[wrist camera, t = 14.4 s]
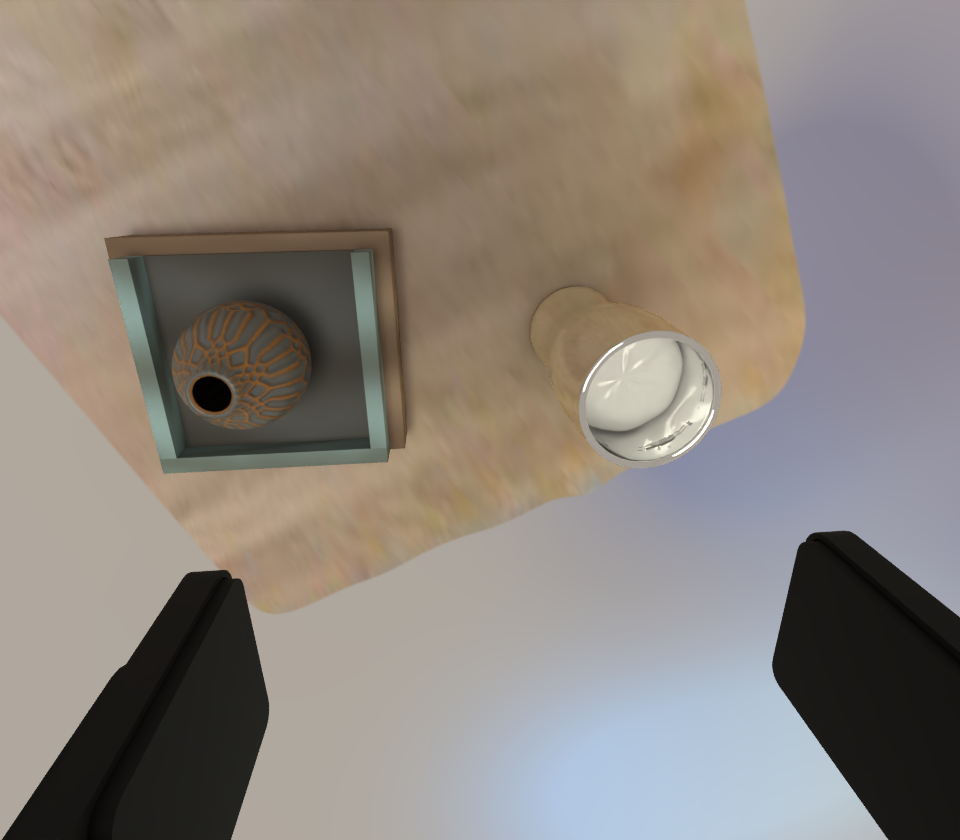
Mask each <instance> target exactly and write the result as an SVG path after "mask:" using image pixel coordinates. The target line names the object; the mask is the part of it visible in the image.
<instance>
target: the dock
mask: <svg viewBox="0 0 960 840" xmlns="http://www.w3.org/2000/svg"><path fill="white" fill-rule="evenodd" d="M104 239H105V243H106V247H107V251H108V255H109V260H108V261H109V265H110V268H111V272H112V276H113V280H114V284H115V288H116V292H117V296H118V299H119V303H120V307H121V311H122V315H123V319H124V323H125V326H126V330H127V334H128V338H129V342H130V346H131V350H132V353H133V357H134V361H135V365H136V369H137V373H138V377H139V380H140V384H141V388H142V392H143V396H144V400H145V404H146V407H147V411H148V415H149V419H150V423H151V427H152V431H153V434H154V438H155V442H156V446H157V450H158V454H159V458H160V461H161V465H162V469H163V473H164V474H166V473H185V472H204V471H223V470H242V469H262V468H281V467H300V466H319V465H338V464H357V463H377V462H388V458H389V453H390V449H400V448H405V444H406V435H407V426H406V412H405V399H404V386H403V372H402V359H401V346H400V333H399V319H398V306H397V293H396V280H395V266H394V253H393V240H392V229H354V230H315V231H276V232H237V233H198V234H159V235H128V236H120V237H111V238H104ZM232 301H254V302H259V303H263V304H266V305H269V306H272V307H274V308H276V309H278V310H280V311H281V312H283V313H284V314H286V315H287V316H288V317H289V318H291V319H292V320H293V321H294V322H295V323H296V325H297V326H298V327H299V328H300V330H301V331H302V333H303V334H304V336H305V338H306V340H307V343H308V345H309V349H310V353H311V363H312V367H311V376H310V380H309V383H308V386H307V388H306V390H305V392H304V394H303V396H302V397H301V399H300V400H299V402H298V403H297V404H296V405H295V407H294V408H293V409H292V410H291V411H290V412H288V413H287V414H286V415H284V416H283V417H282V418H280V419H278V420H276V421H274V422H272V423H270V424H268V425H265V426H261V427H258V428H253V429H242V430H239V429H228V428H223V427H220V426H216V425H214V424H211V423H209V422H207V421H205V420H204V419H202V418H201V417H199V416H198V415H196V414H195V413H194V412H193V411H192V410H191V409H190V408H189V407H188V406H187V405H186V404H185V403H184V401H183V400H182V398H181V397H180V395H179V393H178V391H177V389H176V387H175V384H174V380H173V375H172V357H173V352H174V349H175V346H176V343H177V341H178V338H179V337H180V335H181V333H182V332H183V330H184V329H185V327H186V326H187V325H188V324H189V323H190V322H191V321H192V320H193V319H194V318H195V317H196V316H198V315H199V314H201V313H202V312H204V311H206V310H207V309H209V308H212V307H214V306H216V305H219V304H223V303H227V302H232Z"/></svg>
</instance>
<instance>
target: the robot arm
mask: <svg viewBox="0 0 960 840" xmlns="http://www.w3.org/2000/svg"><path fill="white" fill-rule="evenodd" d="M772 667H773V673H774V676H775V679H776V681H777V683H778V685H779V686H780V688H781V689H782V691H783V692H784V693H785V695H786V696H787V697H788V699H789V700H790V701H791V703H792V705H793V706H794V707H795V709H796V710H797V712H798V713H799V714H800V716H801V717H802V719H803V720H804V721H805V723H806V724H807V726H808V727H809V729H810V730H811V731H812V733H813V734H814V736H815V737H816V738H817V740H818V741H819V743H820V744H821V745H822V747H823V748H824V749H825V751H826V753H827V754H828V755H829V757H830V758H831V759H832V761H833V762H834V764H835V765H836V767H837V768H838V769H839V771H840V772H841V773H842V775H843V776H844V778H845V779H846V781H847V782H848V784H849V785H850V786H851V788H852V789H853V790H854V792H855V793H856V795H857V796H858V798H859V799H860V800H861V802H862V803H863V804H864V806H865V807H866V809H867V810H868V812H869V813H870V814H871V816H872V817H873V819H874V820H875V821H876V823H877V824H878V825H879V827H880V828H881V830H882V831H883V833H884V834H885V836H886V837H887V838H888V840H960V617H959V616H957V615H956V614H955V613H954V612H952V611H951V610H950V609H949V608H947V607H946V606H945V605H943V604H942V603H941V602H940V601H939V600H937V599H936V598H935V597H934V596H932V595H931V594H930V593H928V592H927V591H926V590H925V589H923V588H922V587H921V586H920V585H918V584H917V583H916V582H915V581H913V580H912V579H911V578H910V577H908V576H907V575H906V574H905V573H903V572H902V571H901V570H899V569H898V568H897V567H896V566H894V565H893V564H892V563H891V562H889V561H888V560H887V559H886V558H884V557H883V556H882V555H881V554H879V553H878V552H877V551H876V550H874V549H873V548H872V547H871V546H869V545H868V544H867V543H865V542H864V541H863V540H862V539H860V538H859V537H858V536H857V535H855V534H853V533H852V532H850V531H833V532H818V533H813V534H810V535H809V537H808V538H807V539H806V542H803V543H801V544H800V546H799V548H798V551H797V555H796V559H795V564H794V568H793V573H792V577H791V582H790V586H789V590H788V594H787V599H786V603H785V608H784V612H783V617H782V621H781V626H780V630H779V634H778V639H777V643H776V647H775V652H774V656H773V662H772ZM268 717H269V701H268V696H267V691H266V687H265V682H264V677H263V673H262V668H261V664H260V659H259V655H258V650H257V645H256V641H255V636H254V631H253V627H252V622H251V618H250V613H249V609H248V604H247V599H246V595H245V590H244V586H243V583H242V581H241V579H238V578H237V579H232V577H231V574H230V573H229V572H228V571H226V570H217V571H202V572H190V573H188V574H187V575H185V577H184V578H183V579H182V581H181V582H180V584H179V585H178V587H177V588H176V590H175V592H174V593H173V594H172V596H171V598H170V599H169V600H168V602H167V603H166V605H165V606H164V608H163V610H162V611H161V613H160V614H159V616H158V617H157V618H156V620H155V621H154V623H153V625H152V626H151V627H150V629H149V631H148V632H147V634H146V635H145V637H144V638H143V640H142V641H141V643H140V644H139V646H138V647H137V649H136V650H135V652H134V653H133V655H132V656H131V658H130V659H129V661H128V662H127V664H126V665H124V666H123V667H121V668H119V669H118V671H117V672H116V673H115V674H114V675H113V676H112V677H111V679H110V680H109V682H108V683H107V685H106V686H105V688H104V689H103V691H102V693H101V694H100V695H99V697H98V698H97V700H96V701H95V703H94V704H93V706H92V707H91V709H90V710H89V711H88V713H87V714H86V716H85V717H84V719H83V720H82V722H81V724H80V725H79V727H78V728H77V729H76V731H75V732H74V734H73V735H72V737H71V738H70V740H69V741H68V743H67V744H66V746H65V747H64V749H63V750H62V751H61V753H60V755H59V756H58V758H57V759H56V760H55V762H54V764H53V765H52V766H51V768H50V769H49V771H48V772H47V774H46V775H45V777H44V778H43V780H42V781H41V783H40V784H39V786H38V787H37V789H36V790H35V791H34V793H33V794H32V796H31V798H30V799H29V800H28V802H27V804H26V805H25V806H24V808H23V809H22V811H21V812H20V814H19V815H18V817H17V818H16V820H15V821H14V823H13V824H12V826H11V827H10V829H9V830H8V831H7V833H6V835H5V836H4V837H3V839H2V840H231V837H232V834H233V831H234V828H235V825H236V822H237V818H238V815H239V812H240V809H241V806H242V803H243V800H244V796H245V793H246V790H247V787H248V784H249V780H250V778H251V774H252V771H253V768H254V765H255V762H256V759H257V755H258V752H259V749H260V746H261V743H262V739H263V737H264V733H265V730H266V727H267V723H268Z"/></svg>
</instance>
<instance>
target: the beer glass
mask: <svg viewBox="0 0 960 840" xmlns="http://www.w3.org/2000/svg"><path fill="white" fill-rule="evenodd" d="M530 337H531V343H532V347H533V349H534V351H535V353H536V355H537V356H538V358H539V359H540V360H541V361H542V362H543V363H544V364H545V365H547V366H548V367H549V373H550V378H551V382H552V386H553V390H554V393H555V396H556V398H557V400H558V402H559V404H560V406H561V407H562V409H563V411H564V413H565V414H566V416H567V417H568V418H569V420H570V421H571V422H572V424H573V425H574V426H575V427H576V429H577V430H578V431H579V432H580V433H581V434H582V435H583V436H584V438H585V439H586V440H587V441H588V443H589V444H590V445H591V447H592V448H593V449H594V450H595V451H596V452H597V453H598V454H600V455H601V456H602V457H604V458H605V459H607V460H609V461H611V462H613V463H615V464H618V465H621V466H625V467H631V468H649V467H655V466H660V465H663V464H666V463H669V462H671V461H673V460H675V459H677V458H679V457H681V456H682V455H684V454H686V453H687V452H689V451H690V450H691V449H692V448H693V447H695V446H696V445H697V444H698V443H699V442H700V441H701V440H702V438H703V437H704V436H705V435H706V434H707V432H708V431H709V429H710V428H711V426H712V424H713V422H714V420H715V418H716V416H717V413H718V410H719V406H720V402H721V393H722V386H721V378H720V374H719V370H718V368H717V365H716V363H715V361H714V359H713V358H712V356H711V355H710V353H709V352H708V351H707V350H706V349H705V348H704V347H703V346H702V345H701V344H700V343H698V342H697V341H695V340H694V339H692V338H690V337H689V336H688V335H687V334H685V333H684V332H683V331H681V330H680V329H679V328H678V327H676V326H675V325H674V324H672V323H670V322H669V321H667V320H666V319H664V318H662V317H661V316H659V315H657V314H655V313H652V312H650V311H648V310H645V309H643V308H640V307H637V306H632V305H626V304H620V303H610V302H609V301H608V300H607V299H606V298H605V297H604V296H603V295H602V294H600V293H599V292H597V291H595V290H593V289H591V288H587V287H580V286H574V287H567V288H563V289H560V290H558V291H556V292H554V293H552V294H551V295H550V296H548V297H547V298H546V299H545V300H544V301H543V302H542V303H541V304H540V306H539V307H538V308H537V310H536V312H535V314H534V316H533V319H532V323H531V329H530Z"/></svg>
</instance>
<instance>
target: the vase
mask: <svg viewBox="0 0 960 840" xmlns="http://www.w3.org/2000/svg"><path fill="white" fill-rule="evenodd" d="M311 367H312V363H311V353H310V349H309V345H308V343H307V340H306V338H305V336H304V334H303V333H302V331H301V330H300V328H299V327H298V326H297V325H296V323H295V322H294V321H293V320H292V319H291V318H289V317H288V316H287V315H286V314H284V313H283V312H281V311H280V310H278V309H276V308H274V307H272V306H269V305H266V304H263V303H259V302H254V301H232V302H227V303H223V304H219V305H216V306H214V307H212V308H209V309H207V310H206V311H204V312H202V313H201V314H199V315H198V316H196V317H195V318H194V319H193V320H192V321H191V322H190V323H189V324H188V325H187V326H186V327H185V329H184V330H183V332H182V333H181V335H180V337H179V338H178V341H177V343H176V346H175V349H174V352H173V357H172V375H173V380H174V384H175V387H176V389H177V391H178V393H179V395H180V397H181V398H182V400H183V401H184V403H185V404H186V405H187V406H188V407H189V408H190V409H191V410H192V411H193V412H194V413H195V414H196V415H198V416H199V417H201V418H202V419H204V420H205V421H207V422H209V423H211V424H214V425H216V426H220V427H223V428H228V429H239V430H242V429H253V428H258V427H261V426H265V425H268V424H270V423H272V422H274V421H276V420H278V419H280V418H282V417H283V416H284V415H286V414H287V413H288V412H290V411H291V410H292V409H293V408H294V407H295V405H296V404H297V403H298V402H299V400H300V399H301V397H302V396H303V394H304V392H305V390H306V388H307V386H308V383H309V380H310V376H311Z"/></svg>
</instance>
